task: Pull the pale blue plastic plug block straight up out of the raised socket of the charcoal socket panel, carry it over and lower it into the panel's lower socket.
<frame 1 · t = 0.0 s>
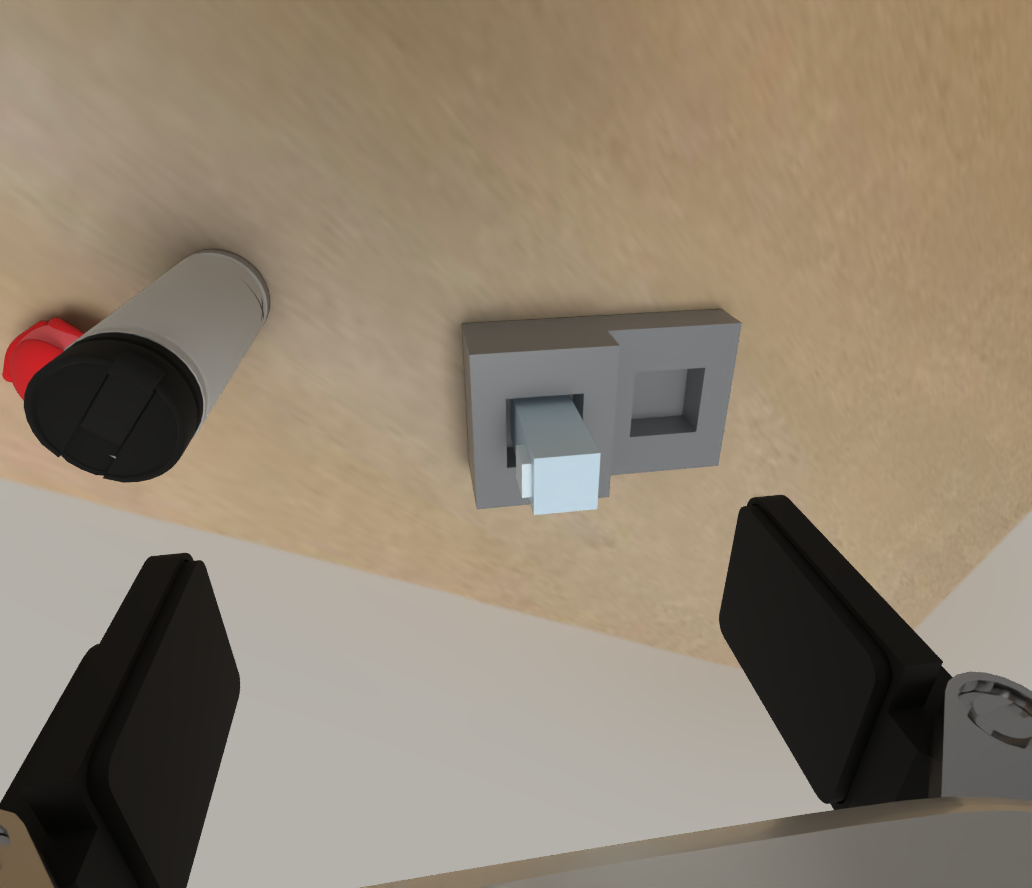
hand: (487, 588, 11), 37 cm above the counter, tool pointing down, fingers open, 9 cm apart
cap: (86, 357, 44), on the counter
travel mug: (224, 293, 44), on the counter
socket panel: (591, 389, 51), on the counter
plug: (537, 412, 47), point 3 cm above the counter, touching socket panel
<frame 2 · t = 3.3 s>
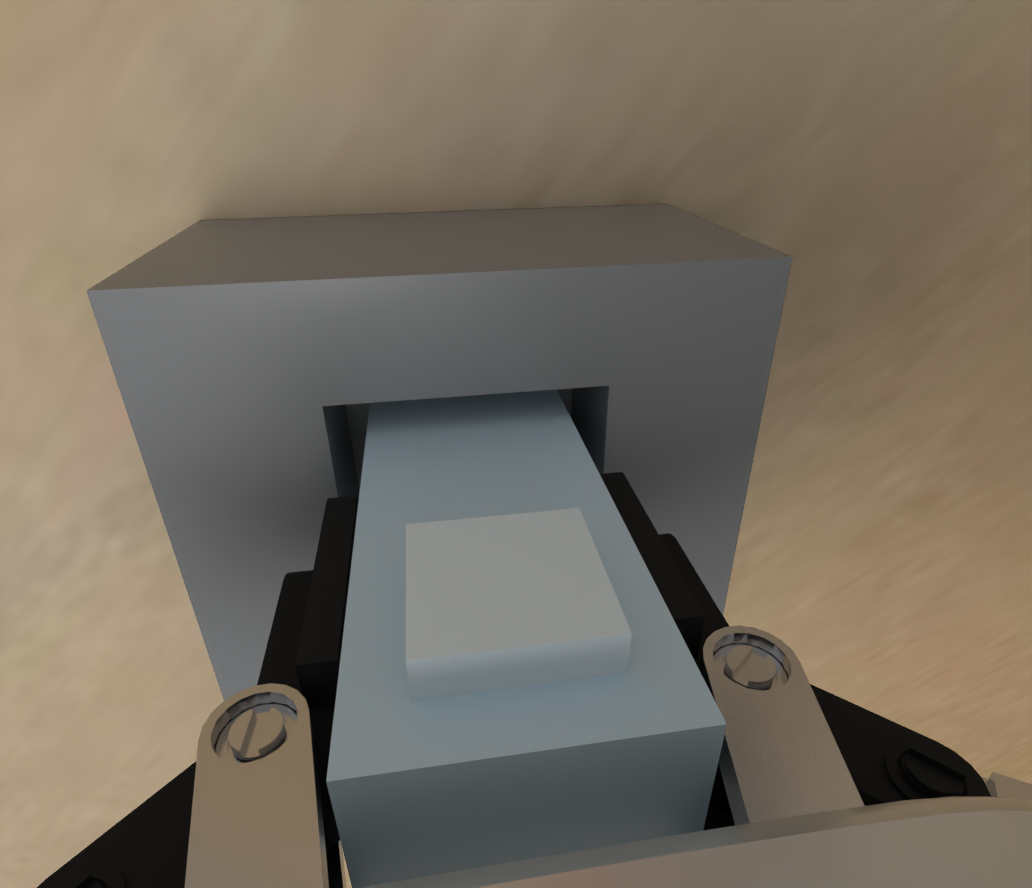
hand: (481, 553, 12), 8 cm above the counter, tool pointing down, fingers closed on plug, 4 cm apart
socket panel: (463, 526, 21), on the counter
plug: (464, 445, 16), point 4 cm above the counter, touching gripper, socket panel
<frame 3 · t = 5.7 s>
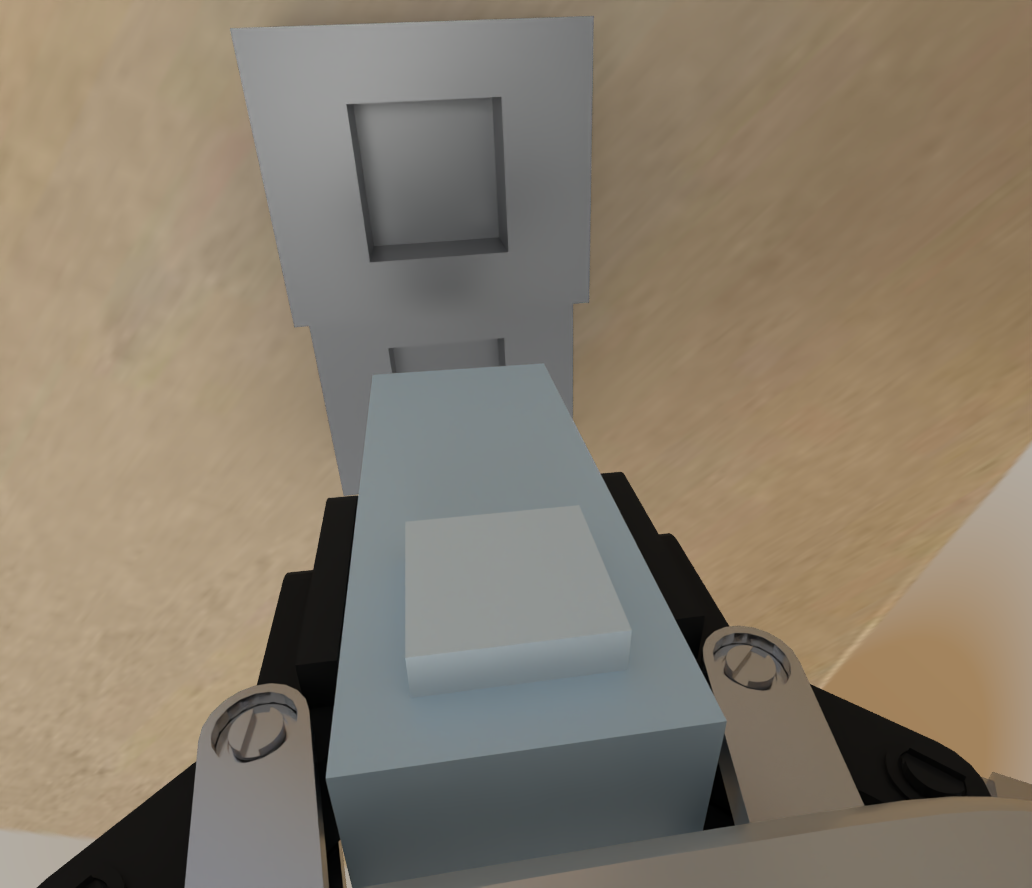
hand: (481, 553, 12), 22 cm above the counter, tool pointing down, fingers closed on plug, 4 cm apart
socket panel: (438, 275, 32), on the counter
plug: (463, 443, 16), point 18 cm above the counter, touching gripper
when the fingers open (6 cm above the counter, at t = 8.3 s): plug drops 1 cm, resting on socket panel.
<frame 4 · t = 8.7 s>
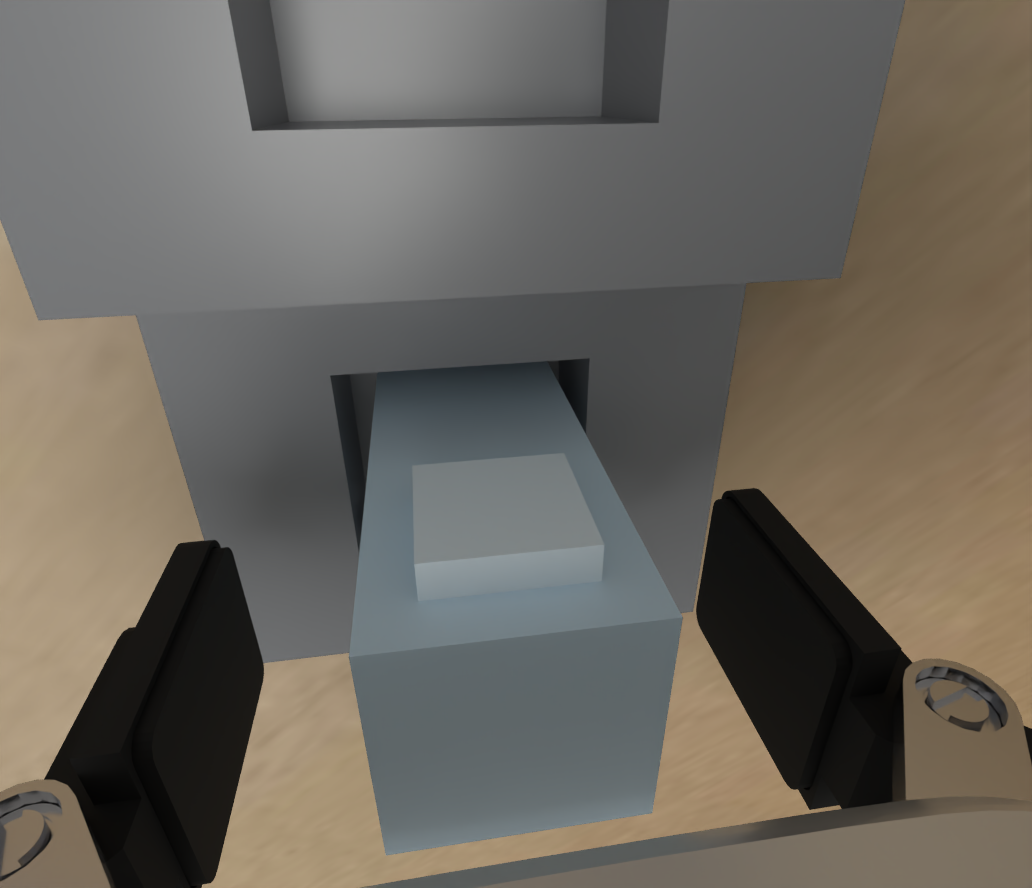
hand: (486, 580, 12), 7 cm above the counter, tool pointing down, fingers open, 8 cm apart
socket panel: (446, 222, 15), on the counter
plug: (463, 417, 17), resting on socket panel
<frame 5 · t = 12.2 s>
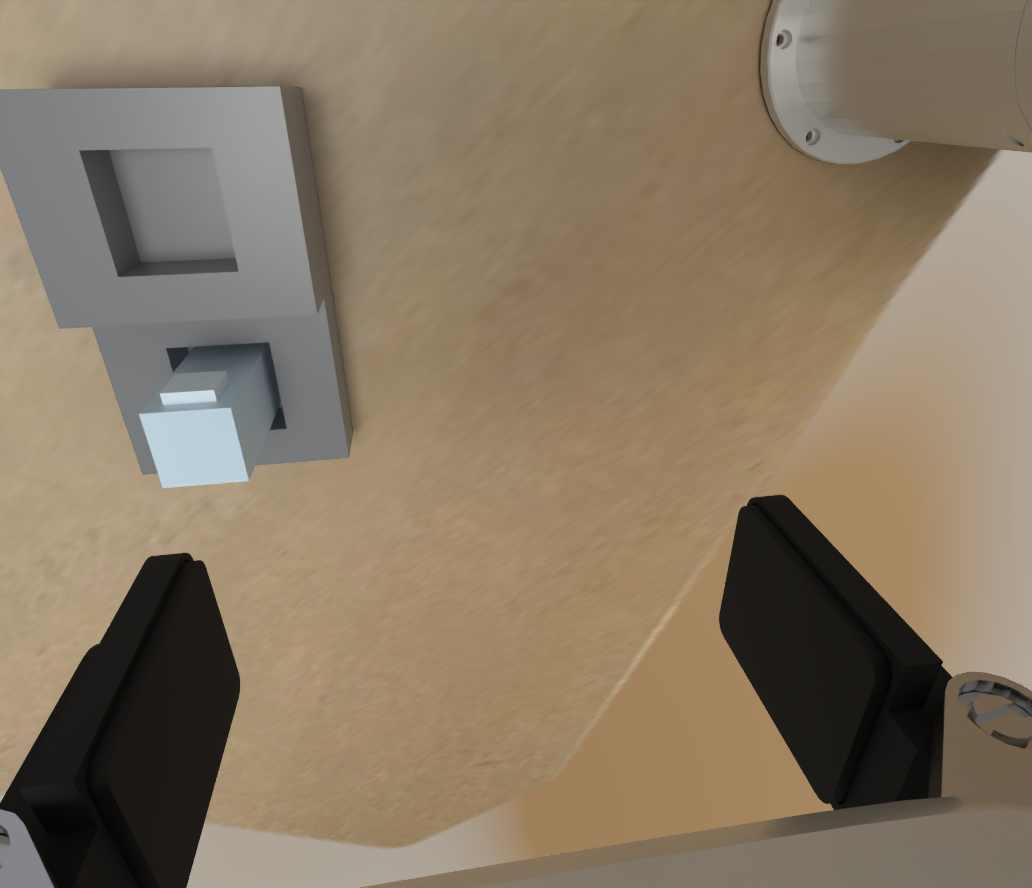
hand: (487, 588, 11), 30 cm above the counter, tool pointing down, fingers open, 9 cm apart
socket panel: (224, 286, 37), on the counter
plug: (242, 369, 39), resting on socket panel
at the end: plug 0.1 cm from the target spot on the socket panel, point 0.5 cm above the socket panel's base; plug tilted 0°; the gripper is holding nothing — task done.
